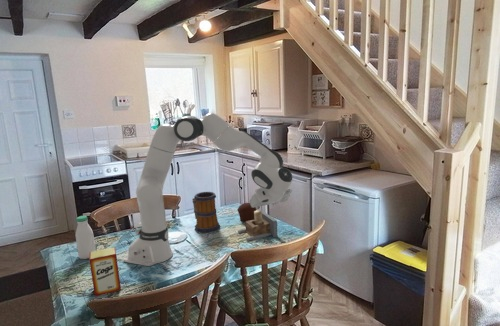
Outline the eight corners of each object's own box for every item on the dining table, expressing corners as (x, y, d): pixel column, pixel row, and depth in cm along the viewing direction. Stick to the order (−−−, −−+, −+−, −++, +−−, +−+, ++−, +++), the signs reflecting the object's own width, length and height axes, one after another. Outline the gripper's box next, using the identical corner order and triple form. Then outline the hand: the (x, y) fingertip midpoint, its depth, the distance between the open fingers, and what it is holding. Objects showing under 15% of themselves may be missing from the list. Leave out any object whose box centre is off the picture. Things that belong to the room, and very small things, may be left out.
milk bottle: (99, 254, 167) (94, 215, 162) (85, 261, 160) (79, 221, 156) (89, 250, 170) (84, 213, 166) (75, 257, 164) (69, 218, 160)
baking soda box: (119, 281, 141) (115, 246, 138) (121, 289, 135) (115, 252, 132) (95, 287, 137) (89, 251, 134) (95, 296, 131) (89, 258, 128)
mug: (185, 226, 196) (182, 193, 192) (205, 219, 206) (203, 187, 201) (204, 236, 182) (201, 200, 178) (225, 228, 192) (223, 194, 187)
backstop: (249, 243, 171) (248, 226, 169) (236, 230, 187) (235, 215, 185) (277, 236, 177) (277, 220, 175) (262, 225, 193) (261, 210, 192)
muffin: (249, 214, 210) (248, 199, 208) (261, 219, 202) (260, 203, 200) (233, 219, 203) (233, 204, 201) (245, 225, 195) (244, 208, 193)
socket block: (253, 238, 177) (252, 227, 175) (246, 231, 185) (245, 221, 183) (270, 234, 181) (269, 223, 179) (262, 228, 189) (262, 218, 187)
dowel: (254, 230, 181) (253, 212, 179) (255, 227, 185) (254, 210, 183) (262, 230, 180) (261, 213, 178) (263, 227, 184) (262, 210, 182)
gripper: (290, 183, 167) (281, 197, 177) (252, 190, 159) (245, 204, 169) (295, 194, 164) (285, 207, 174) (257, 201, 155) (249, 215, 166)
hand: (265, 206), depth 172 cm, fingers open, 8 cm apart
